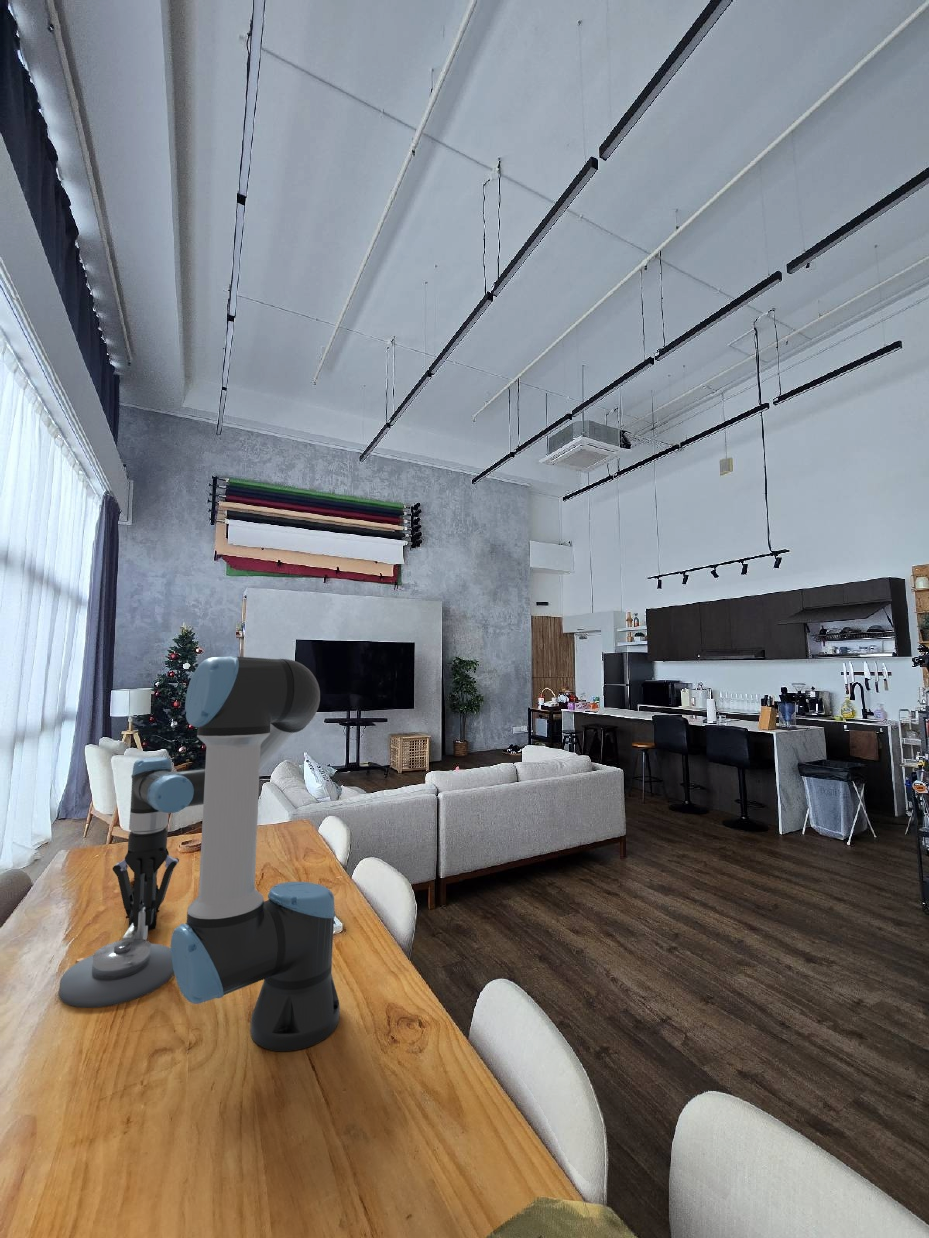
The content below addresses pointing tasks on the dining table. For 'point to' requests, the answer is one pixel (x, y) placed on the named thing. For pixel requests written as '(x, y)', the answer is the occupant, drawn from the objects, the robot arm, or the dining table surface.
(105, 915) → the dining table surface
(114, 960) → the dial
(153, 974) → the dial plate
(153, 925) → the tool
